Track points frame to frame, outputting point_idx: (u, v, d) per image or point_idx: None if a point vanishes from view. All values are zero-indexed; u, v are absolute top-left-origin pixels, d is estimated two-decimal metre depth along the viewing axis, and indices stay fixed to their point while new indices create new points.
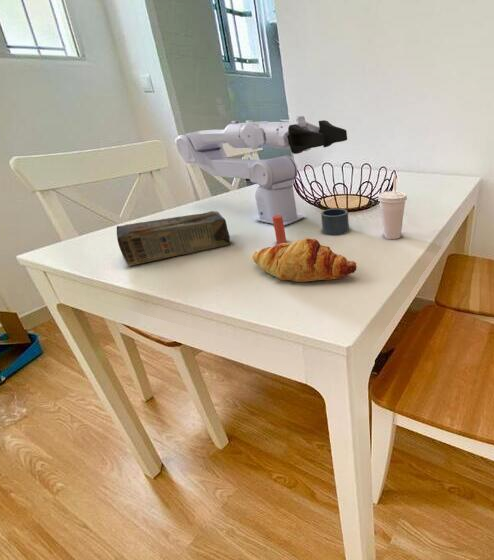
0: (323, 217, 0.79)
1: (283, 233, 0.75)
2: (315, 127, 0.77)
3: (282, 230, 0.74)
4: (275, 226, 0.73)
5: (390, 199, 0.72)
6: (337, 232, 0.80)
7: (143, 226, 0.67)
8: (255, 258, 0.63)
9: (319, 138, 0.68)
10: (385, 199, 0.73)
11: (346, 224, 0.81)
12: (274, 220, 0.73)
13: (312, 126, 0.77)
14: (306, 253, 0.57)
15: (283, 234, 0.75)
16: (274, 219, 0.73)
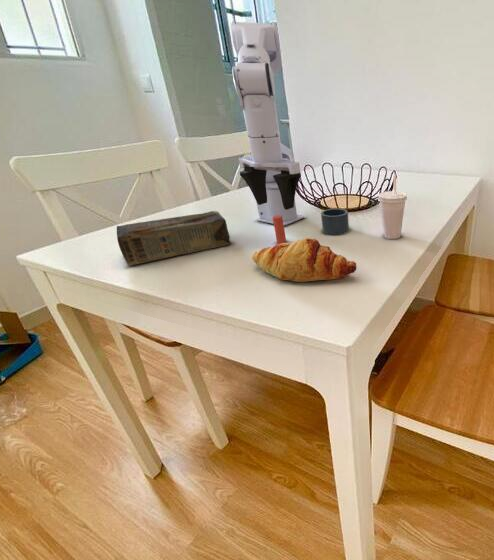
0: (323, 217, 0.79)
1: (283, 233, 0.75)
2: None
3: (282, 230, 0.74)
4: (275, 226, 0.73)
5: (390, 199, 0.72)
6: (337, 232, 0.80)
7: (143, 226, 0.67)
8: (255, 258, 0.63)
9: None
10: (385, 199, 0.73)
11: (346, 224, 0.81)
12: (274, 220, 0.73)
13: (272, 167, 0.66)
14: (306, 253, 0.57)
15: (283, 234, 0.75)
16: (274, 219, 0.73)
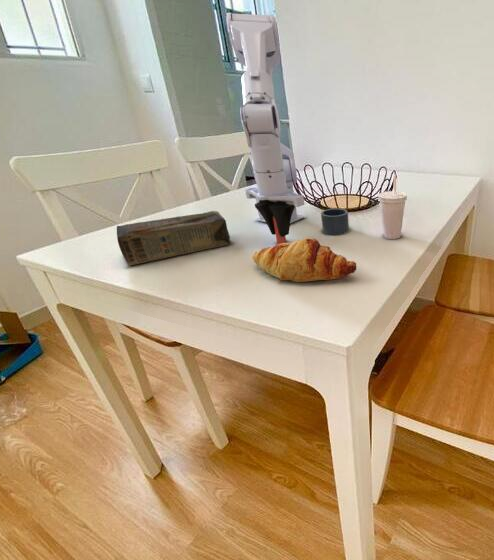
0: (323, 217, 0.79)
1: None
2: None
3: None
4: (275, 226, 0.73)
5: (390, 199, 0.72)
6: (337, 232, 0.80)
7: (143, 226, 0.67)
8: (255, 258, 0.63)
9: None
10: (385, 199, 0.73)
11: (346, 224, 0.81)
12: (274, 220, 0.73)
13: None
14: (306, 253, 0.57)
15: None
16: (274, 219, 0.73)
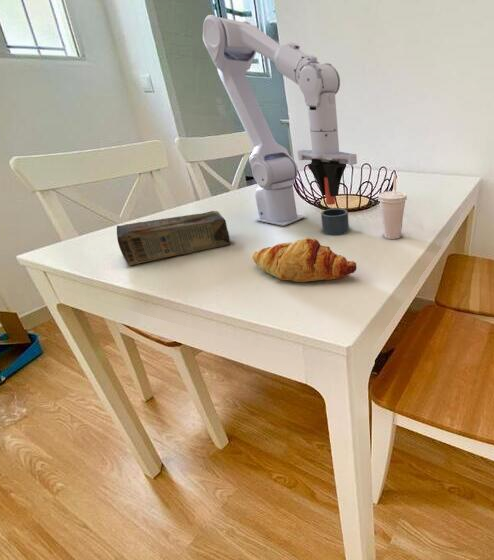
0: (323, 217, 0.79)
1: None
2: (336, 158, 0.72)
3: None
4: (326, 186, 0.77)
5: (390, 199, 0.72)
6: (337, 232, 0.80)
7: (143, 226, 0.67)
8: (255, 258, 0.63)
9: None
10: (385, 199, 0.73)
11: (346, 224, 0.81)
12: (325, 180, 0.76)
13: (332, 158, 0.72)
14: (306, 253, 0.57)
15: None
16: (325, 179, 0.76)
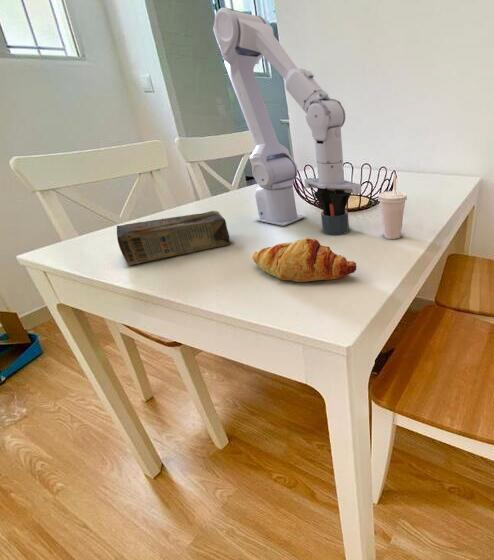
0: (323, 217, 0.79)
1: None
2: None
3: None
4: (331, 213, 0.80)
5: (390, 199, 0.72)
6: (337, 232, 0.80)
7: (143, 226, 0.67)
8: (255, 258, 0.63)
9: None
10: (385, 199, 0.73)
11: (346, 224, 0.81)
12: (331, 207, 0.79)
13: None
14: (306, 253, 0.57)
15: None
16: (331, 206, 0.79)
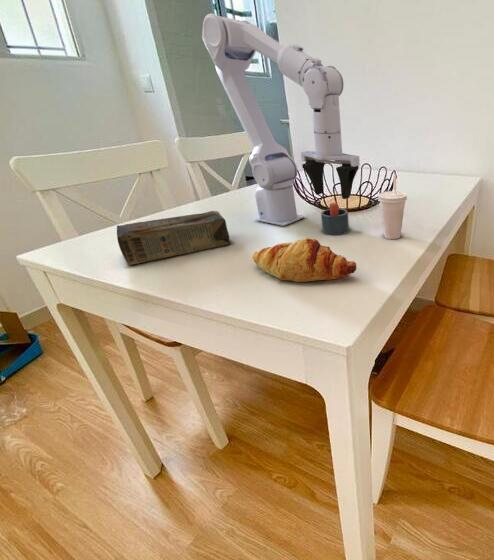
0: (323, 217, 0.79)
1: None
2: (339, 160, 0.73)
3: None
4: (331, 213, 0.80)
5: (390, 199, 0.72)
6: (337, 232, 0.80)
7: (143, 226, 0.67)
8: (255, 258, 0.63)
9: None
10: (385, 199, 0.73)
11: (346, 224, 0.81)
12: (331, 207, 0.79)
13: (335, 160, 0.73)
14: (306, 253, 0.57)
15: None
16: (331, 206, 0.79)
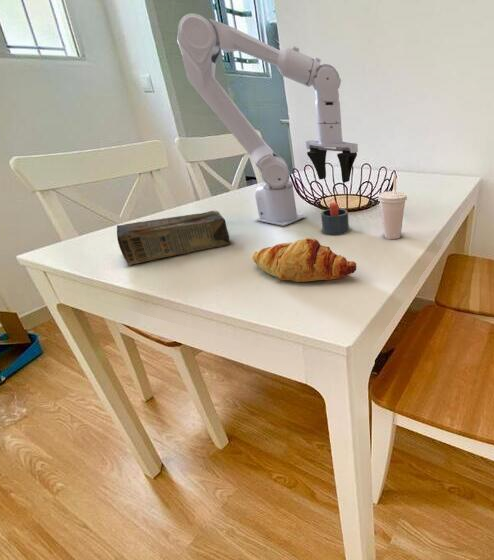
0: (323, 217, 0.79)
1: None
2: None
3: None
4: (331, 213, 0.80)
5: (390, 199, 0.72)
6: (337, 232, 0.80)
7: (143, 225, 0.67)
8: (255, 258, 0.63)
9: (348, 179, 0.87)
10: (385, 199, 0.73)
11: (346, 224, 0.81)
12: (331, 207, 0.79)
13: None
14: (306, 253, 0.57)
15: None
16: (331, 206, 0.79)
